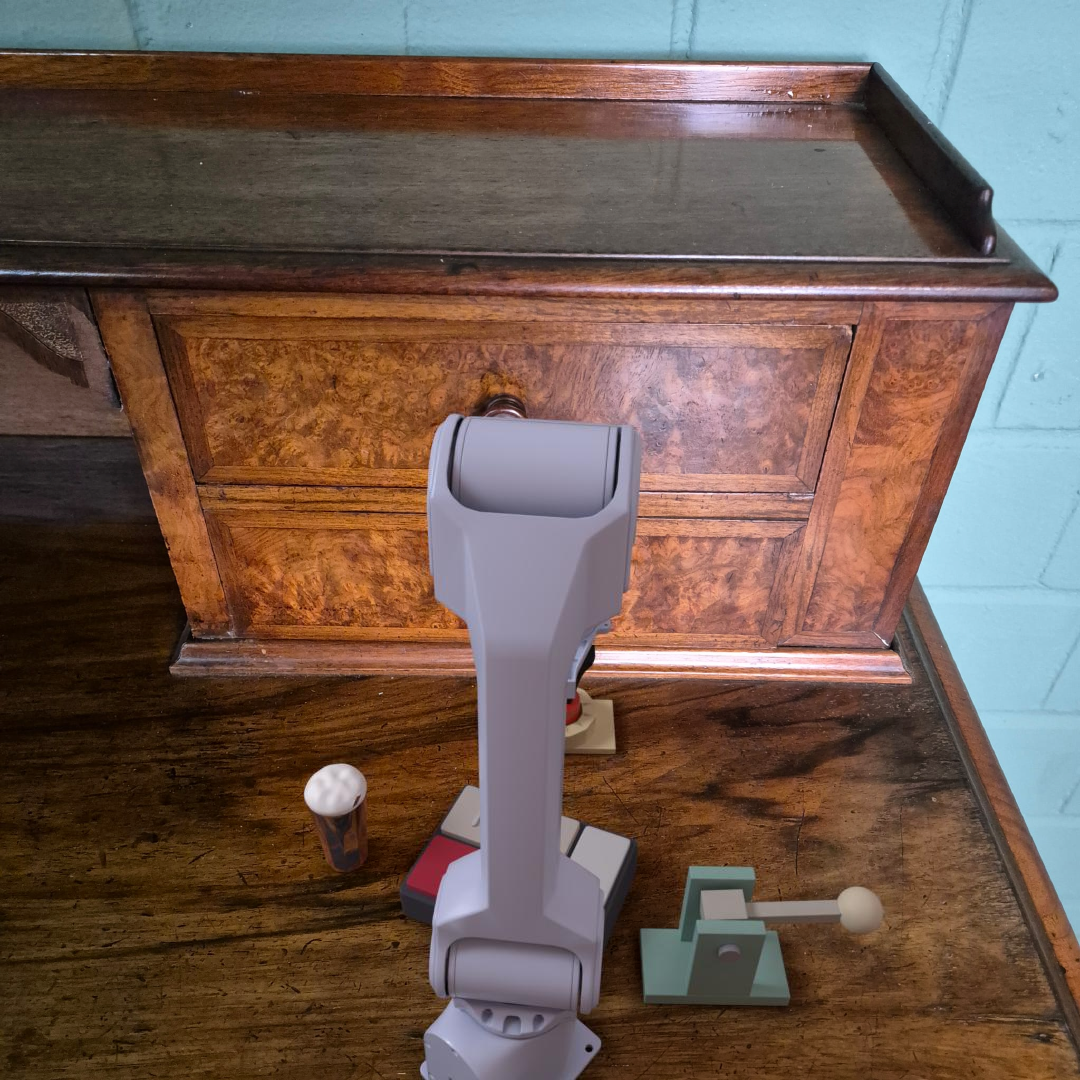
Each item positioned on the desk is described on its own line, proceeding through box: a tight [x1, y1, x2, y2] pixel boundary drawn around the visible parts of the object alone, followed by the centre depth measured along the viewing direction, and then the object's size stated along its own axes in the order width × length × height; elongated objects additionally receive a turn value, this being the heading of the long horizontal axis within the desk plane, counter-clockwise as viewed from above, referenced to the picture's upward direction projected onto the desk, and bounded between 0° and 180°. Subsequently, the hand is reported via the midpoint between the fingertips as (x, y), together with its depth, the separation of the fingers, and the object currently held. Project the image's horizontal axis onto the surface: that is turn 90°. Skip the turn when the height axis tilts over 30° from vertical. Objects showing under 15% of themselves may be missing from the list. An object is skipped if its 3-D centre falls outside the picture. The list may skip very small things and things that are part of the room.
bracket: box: [638, 865, 791, 1007], centre depth 65 cm, size 10×6×9 cm, turn 89°
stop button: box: [566, 691, 580, 726], centre depth 85 cm, size 4×4×2 cm
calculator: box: [398, 784, 638, 990], centre depth 72 cm, size 11×4×15 cm
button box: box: [564, 686, 617, 755], centre depth 86 cm, size 6×10×2 cm, turn 89°
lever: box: [700, 886, 884, 936], centre depth 63 cm, size 12×3×3 cm, turn 89°
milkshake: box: [303, 763, 369, 874], centre depth 72 cm, size 4×5×10 cm
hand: (559, 698), depth 84 cm, fingers closed, pressing on stop button
